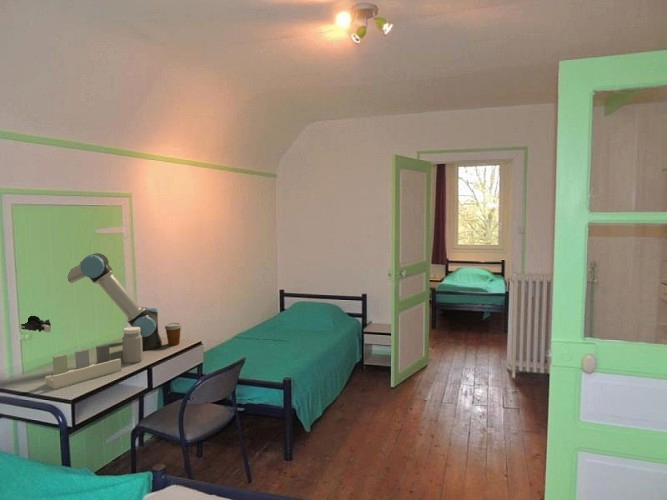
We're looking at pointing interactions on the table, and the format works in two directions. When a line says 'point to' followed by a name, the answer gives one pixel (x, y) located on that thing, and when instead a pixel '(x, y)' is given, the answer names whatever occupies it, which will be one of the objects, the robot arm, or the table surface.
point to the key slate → (82, 358)
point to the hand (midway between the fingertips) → (48, 329)
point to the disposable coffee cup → (173, 333)
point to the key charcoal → (102, 353)
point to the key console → (83, 374)
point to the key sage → (60, 364)
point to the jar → (132, 345)
